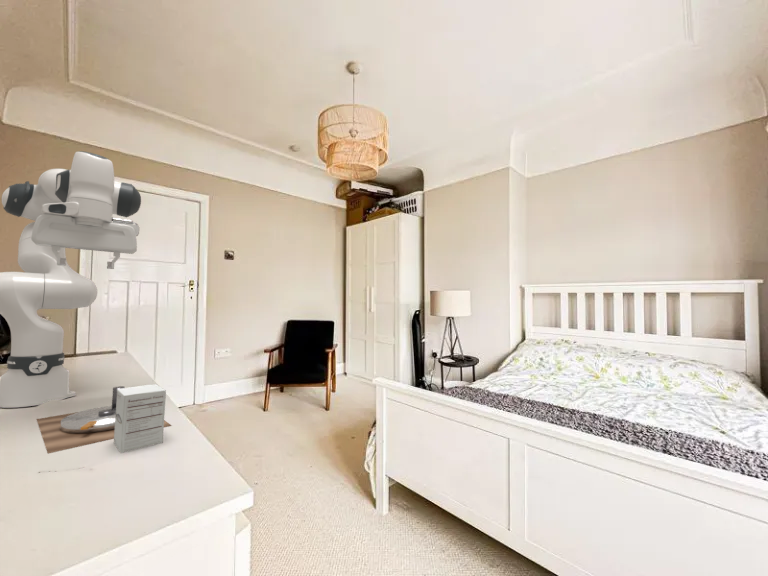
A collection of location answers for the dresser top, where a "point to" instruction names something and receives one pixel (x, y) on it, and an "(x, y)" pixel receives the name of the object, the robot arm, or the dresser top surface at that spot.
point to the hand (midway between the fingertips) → (86, 267)
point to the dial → (92, 418)
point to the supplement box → (139, 417)
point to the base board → (69, 435)
